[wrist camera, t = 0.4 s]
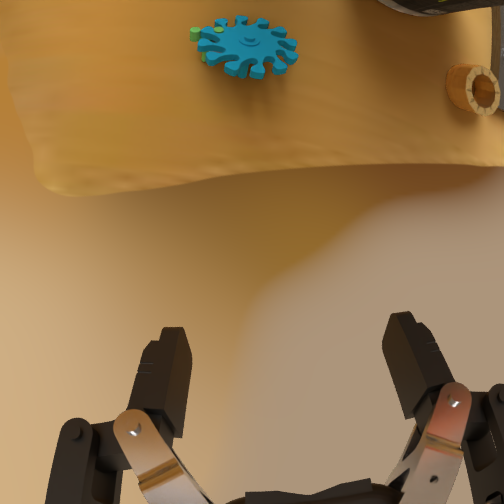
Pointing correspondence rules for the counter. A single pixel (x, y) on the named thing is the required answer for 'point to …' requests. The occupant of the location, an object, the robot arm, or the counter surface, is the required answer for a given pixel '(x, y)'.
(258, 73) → the gear
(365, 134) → the counter surface
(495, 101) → the brass hub
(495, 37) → the post stand
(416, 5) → the supplement tub
